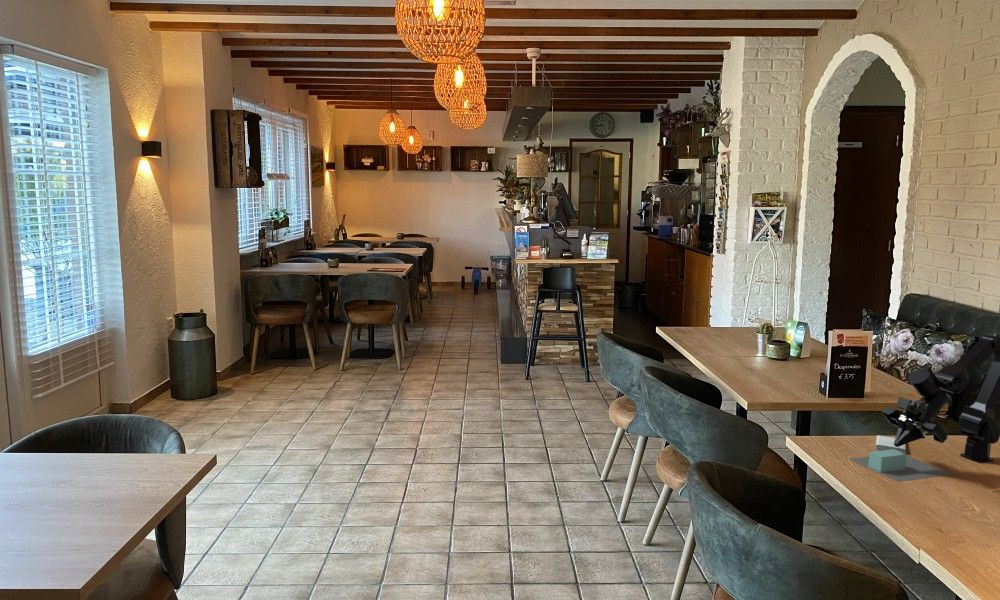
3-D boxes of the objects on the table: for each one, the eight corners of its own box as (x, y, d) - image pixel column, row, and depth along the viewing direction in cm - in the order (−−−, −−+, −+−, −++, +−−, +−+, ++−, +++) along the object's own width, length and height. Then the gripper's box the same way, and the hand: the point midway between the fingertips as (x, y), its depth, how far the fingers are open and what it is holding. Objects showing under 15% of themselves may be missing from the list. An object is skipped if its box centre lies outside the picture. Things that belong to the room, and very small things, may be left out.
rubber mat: (900, 454, 229) (901, 452, 229) (952, 475, 212) (953, 474, 212) (848, 460, 223) (848, 459, 223) (897, 482, 206) (897, 481, 206)
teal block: (894, 449, 219) (869, 451, 216) (906, 454, 215) (881, 457, 212) (892, 463, 219) (868, 466, 217) (905, 469, 215) (880, 472, 212)
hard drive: (905, 449, 228) (905, 438, 239) (875, 444, 231) (876, 434, 242) (905, 454, 228) (904, 443, 239) (875, 449, 232) (876, 439, 243)
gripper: (889, 380, 224) (856, 418, 222) (944, 396, 206) (908, 438, 204) (907, 403, 227) (875, 442, 225) (962, 422, 210) (928, 463, 208)
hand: (895, 445), depth 216 cm, fingers closed
